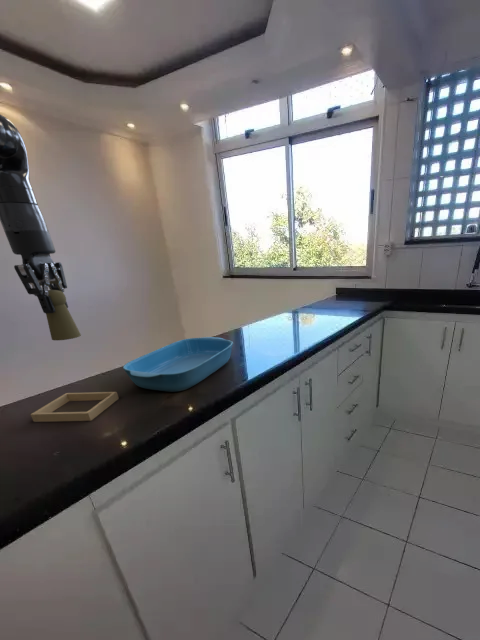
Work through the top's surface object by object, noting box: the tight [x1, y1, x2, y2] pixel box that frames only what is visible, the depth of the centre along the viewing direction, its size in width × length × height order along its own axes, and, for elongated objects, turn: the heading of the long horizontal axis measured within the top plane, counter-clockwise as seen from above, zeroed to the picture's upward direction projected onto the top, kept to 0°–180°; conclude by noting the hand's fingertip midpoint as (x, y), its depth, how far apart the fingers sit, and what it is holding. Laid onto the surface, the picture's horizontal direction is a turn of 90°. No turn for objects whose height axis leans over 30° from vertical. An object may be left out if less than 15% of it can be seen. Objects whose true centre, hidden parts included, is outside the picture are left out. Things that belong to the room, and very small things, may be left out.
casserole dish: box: [122, 336, 234, 393], centre depth 96 cm, size 37×22×7 cm, turn 163°
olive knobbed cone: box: [45, 289, 82, 341], centre depth 74 cm, size 6×6×11 cm
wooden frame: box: [29, 391, 119, 423], centre depth 76 cm, size 14×12×3 cm
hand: (56, 310), depth 74 cm, fingers closed on olive knobbed cone, 5 cm apart
